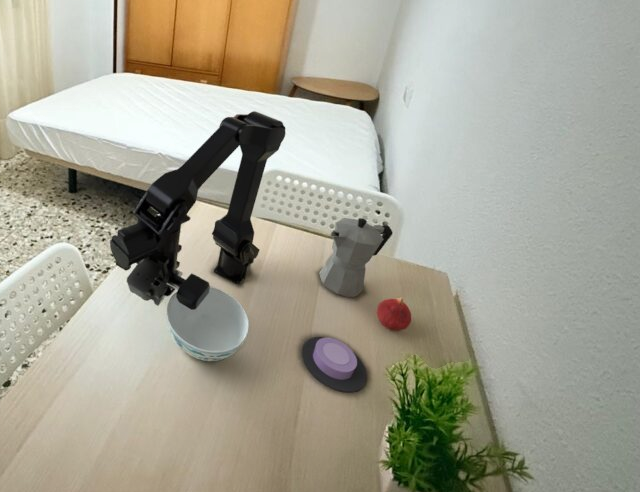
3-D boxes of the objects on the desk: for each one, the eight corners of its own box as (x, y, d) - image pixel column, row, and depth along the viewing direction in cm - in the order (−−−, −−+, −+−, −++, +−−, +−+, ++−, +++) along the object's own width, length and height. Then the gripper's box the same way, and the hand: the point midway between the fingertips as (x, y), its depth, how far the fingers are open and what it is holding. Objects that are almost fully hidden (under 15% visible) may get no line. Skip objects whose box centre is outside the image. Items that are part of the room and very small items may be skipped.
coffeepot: (327, 301, 88) (351, 236, 80) (303, 271, 96) (321, 209, 89) (387, 293, 91) (415, 229, 83) (358, 264, 99) (381, 203, 92)
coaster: (294, 367, 74) (294, 366, 74) (310, 327, 82) (311, 326, 82) (359, 405, 68) (360, 404, 68) (370, 359, 76) (371, 358, 76)
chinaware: (248, 329, 81) (255, 301, 78) (233, 395, 69) (240, 366, 65) (177, 302, 86) (181, 275, 83) (151, 359, 74) (154, 330, 71)
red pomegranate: (409, 342, 80) (423, 313, 76) (377, 336, 81) (390, 307, 77) (397, 318, 85) (410, 290, 81) (368, 313, 86) (379, 285, 82)
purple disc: (308, 364, 74) (311, 355, 73) (318, 338, 79) (321, 330, 78) (349, 387, 70) (353, 379, 69) (357, 359, 76) (360, 351, 75)
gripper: (97, 243, 74) (97, 304, 81) (184, 293, 64) (175, 358, 71) (133, 216, 82) (130, 274, 89) (216, 257, 72) (205, 318, 79)
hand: (157, 303), depth 82 cm, fingers closed
